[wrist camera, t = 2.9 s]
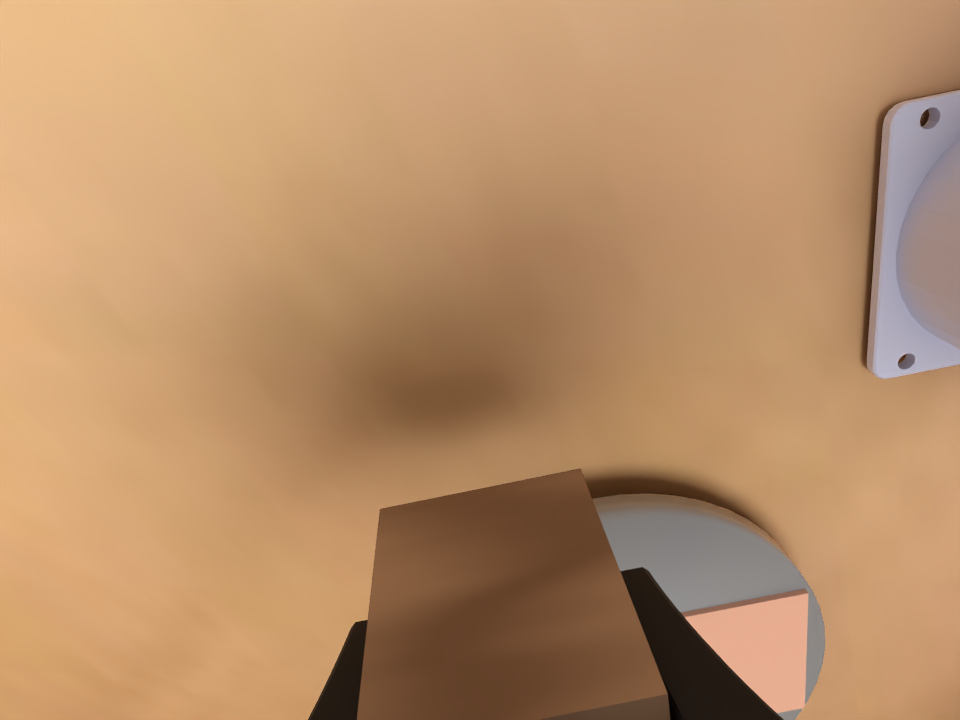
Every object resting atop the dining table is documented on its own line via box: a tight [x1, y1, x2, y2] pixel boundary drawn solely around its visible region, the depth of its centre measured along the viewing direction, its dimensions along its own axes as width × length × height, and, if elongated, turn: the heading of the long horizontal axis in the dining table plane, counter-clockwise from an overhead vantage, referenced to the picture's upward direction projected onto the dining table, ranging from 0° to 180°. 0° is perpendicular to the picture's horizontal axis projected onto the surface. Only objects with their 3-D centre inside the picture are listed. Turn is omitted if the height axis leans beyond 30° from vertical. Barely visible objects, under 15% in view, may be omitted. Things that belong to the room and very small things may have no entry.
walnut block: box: [357, 469, 670, 720], centre depth 11 cm, size 4×4×5 cm
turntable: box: [592, 493, 825, 720], centre depth 21 cm, size 14×14×5 cm
